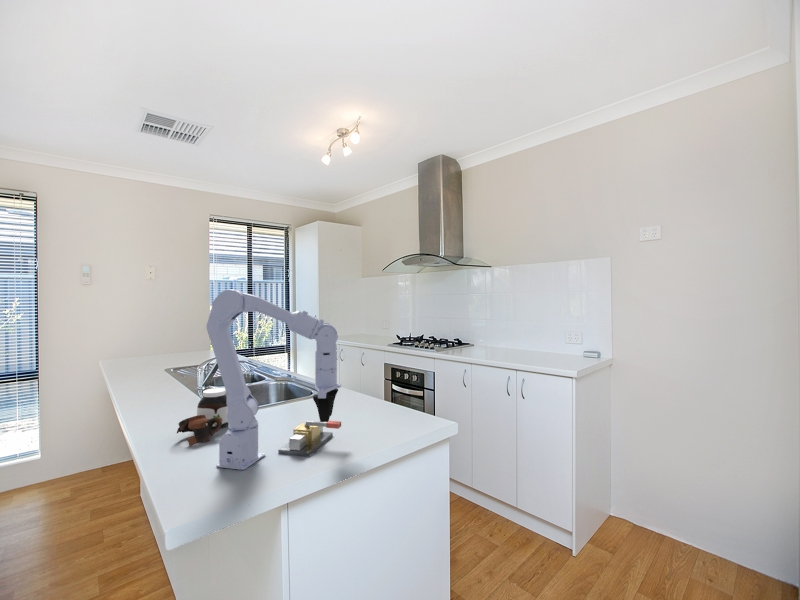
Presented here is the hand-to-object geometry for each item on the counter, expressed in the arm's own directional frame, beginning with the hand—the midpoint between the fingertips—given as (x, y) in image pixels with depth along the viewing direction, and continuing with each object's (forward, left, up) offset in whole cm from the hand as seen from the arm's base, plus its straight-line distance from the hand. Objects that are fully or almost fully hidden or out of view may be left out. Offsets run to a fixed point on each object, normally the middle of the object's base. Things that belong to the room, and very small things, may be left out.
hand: (326, 418), depth 105 cm
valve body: (+5, +8, -9) cm, 13 cm away
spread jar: (+15, +45, -10) cm, 48 cm away
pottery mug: (+1, +41, -10) cm, 42 cm away
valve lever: (+5, +3, -4) cm, 7 cm away
